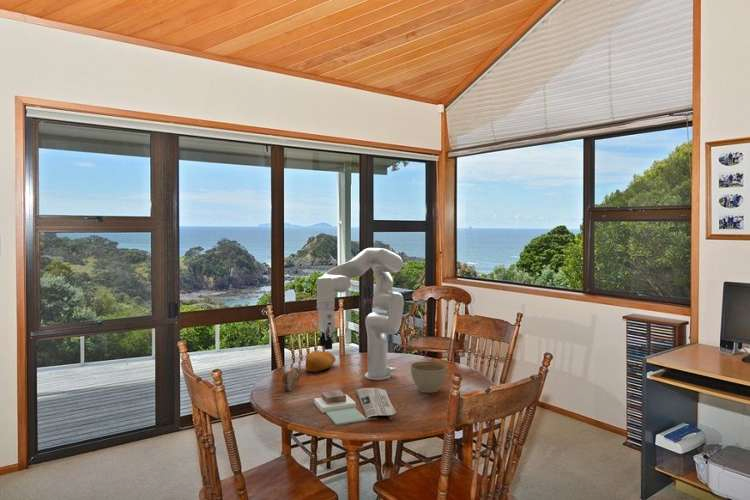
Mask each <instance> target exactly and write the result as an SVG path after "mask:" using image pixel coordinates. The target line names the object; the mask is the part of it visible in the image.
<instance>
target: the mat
mask: <svg viewBox="0 0 750 500" xmlns="http://www.w3.org/2000/svg"><path fill="white" fill-rule="evenodd" d="M325 415H327V417H328V418H329V419H330V420H331V421H332V422H333V424H334V425H336V426H340V425H346V424H352V423H358V422H366V421H367V420H368V419H367V418H366V416H365V415H363V414H362V413H361V412H360V411H359V410H358V409H357V407H356V408H355V407H351V408H344V409H337V410H330V411H325Z"/></svg>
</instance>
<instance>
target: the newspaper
mask: <svg viewBox="0 0 750 500" xmlns="http://www.w3.org/2000/svg"><path fill="white" fill-rule="evenodd" d="M356 392H357V396H358V398H359V402H360V404H361V406H362V410H363V412H364V417H365V418H367V420H366V421H374V420H375V421H376V420H378V418H377V416H387V417H388V418H389V420H393V419H394V418H395V414H397V411H396V409H395V408H394V406H393V404H392V402H391V400H390V398H389V397H390V396H389V395H388V391H387V390H386V389H383V388H379V387H364V388H359V389H357V390H356Z"/></svg>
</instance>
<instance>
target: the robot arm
mask: <svg viewBox="0 0 750 500" xmlns="http://www.w3.org/2000/svg"><path fill="white" fill-rule="evenodd" d="M403 265H404V262H403V259H402V257H401V256H400V255H398V254H396V253H395V252H393V251H390V250H388V249H386V248H383V247H382V248H381V247H367V248H365V249H363V250H362V251H360V252H359V253H357V255H355V257H353V258H352V259H350V260H349V261H346V262H344V263H343V262H342V263H341V264H338V265H337V266H334V267H332V268H330V269H329V270H327V271H326V272H325V273H324V274H322V276H319V277H317V279H316V309H317V310H318V318H317V319H318V320H317V321H318V322H317V325H318V330H319V346H320V347H324V350H326V351H327V350H332V349H333V334H334V333H335V332H336V321H335V320H336V319H335V309H336V308H335V304H336V303H335V301H336V299H335V296H336V295H335V294H336V293H340V294H342V293H343V294H344V293H346V292H348V291H349V290H350V288H351V286H352V285H351V284H352V283H351V279H356V278H359V277H361V276H363V275H364V274H365V273H367V271H369V269H372V271H373V273H374V275H375V280H376V283H375V287H374V291H373V297H372V307H373V308H374V309H375V310H379V311H384V312H377V311H376V312H373V311H372V312H370V313H369V314H368V315H366V317H365V320H364V321H365V322H364V323H365V328H366V333H367V335H366V336H367V372H366V373H364V378H365V379H367V380H372V381H384V380H388V379H390V378H391V373H393V372H394V373H395V372H397V368H396V367H389V366H388V340H387V337H386V334H388V335H395V334H397V333H398V332H399V330H400V327H401V323H402V319H403V318H402V317H403V314H404V307H405V300H404V296H403V294H401V293H400V292H398V291H393V286H394V280H393V276H392V275H391V273H398V272H400V271H402V268H403ZM385 311H386V312H388V313H386V312H385Z"/></svg>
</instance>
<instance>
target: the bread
mask: <svg viewBox="0 0 750 500" xmlns="http://www.w3.org/2000/svg"><path fill="white" fill-rule="evenodd" d="M335 362H336V357H335V356H334V354H332V352H329V351H327V350H326V351H321V350H313V351H311V352H309V353H308V352H307V354H306V355H305V365H304V366H305V368H306V369H305V370H307V371H308V372H311V373H317V372H321V371H323V370H327V369H329V368H331V367H332V366H333V365H334V364H335Z"/></svg>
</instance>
